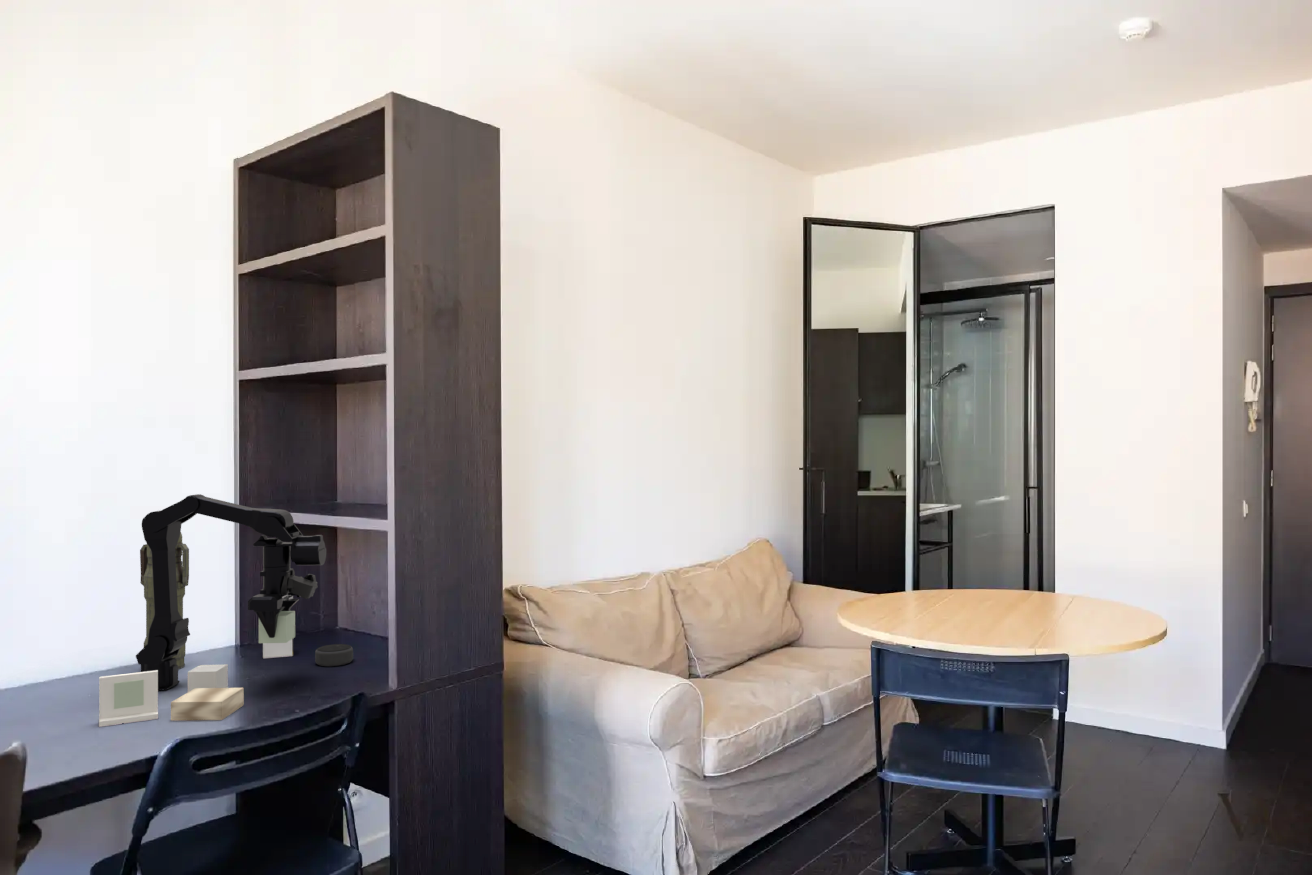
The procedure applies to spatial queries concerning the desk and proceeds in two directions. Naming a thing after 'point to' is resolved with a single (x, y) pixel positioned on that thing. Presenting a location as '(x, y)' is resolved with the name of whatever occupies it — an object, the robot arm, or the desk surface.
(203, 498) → the robot arm
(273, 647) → the medicine bottle
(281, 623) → the sage cube
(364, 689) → the desk surface
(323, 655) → the smart speaker
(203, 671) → the grey cube
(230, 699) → the birch block
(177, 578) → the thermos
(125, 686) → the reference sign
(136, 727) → the desk surface
